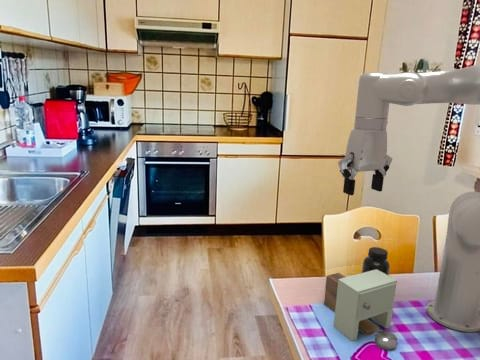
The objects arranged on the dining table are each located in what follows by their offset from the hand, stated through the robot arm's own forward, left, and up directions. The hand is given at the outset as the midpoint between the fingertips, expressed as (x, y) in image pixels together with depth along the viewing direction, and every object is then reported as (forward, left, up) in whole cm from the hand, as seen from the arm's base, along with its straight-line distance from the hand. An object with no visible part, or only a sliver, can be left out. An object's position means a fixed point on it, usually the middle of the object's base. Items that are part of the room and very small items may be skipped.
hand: (362, 192), depth 100 cm
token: (+9, +20, -28) cm, 36 cm away
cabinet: (+9, +13, -28) cm, 32 cm away
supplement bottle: (-6, +2, -28) cm, 29 cm away
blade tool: (+9, +9, -28) cm, 31 cm away
